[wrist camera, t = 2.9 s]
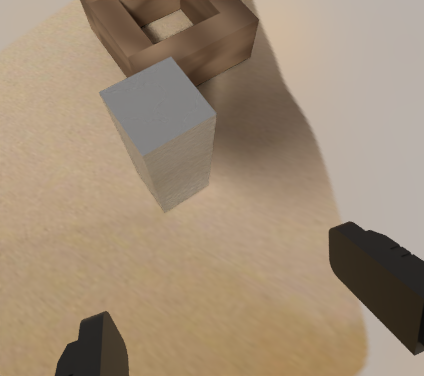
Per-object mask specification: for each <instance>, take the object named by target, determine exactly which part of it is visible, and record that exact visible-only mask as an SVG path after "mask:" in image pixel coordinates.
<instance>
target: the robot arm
mask: <svg viewBox="0 0 424 376" xmlns="http://www.w3.org/2000/svg"><path fill="white" fill-rule="evenodd" d="M329 260H330V265H331V268H332V270H333V272H334V273H335V275H336V276H337V277H338V278H339V279H340V280H341V281H342V282H343V283H344V284H345V285H346V286H347V288H348V289H349V290H350V291H351V292H352V293H353V294H354V295H355V296H356V297H357V298H358V299H359V300H360V301H361V302H362V303H363V304H364V305H365V306H366V307H367V308H368V309H369V310H370V311H371V312H372V313H373V314H374V315H375V316H376V317H377V318H378V319H379V320H380V321H381V322H382V323H383V324H384V325H385V326H386V327H387V328H388V329H389V330H390V331H391V332H392V333H393V334H394V335H395V336H396V337H397V338H398V339H399V340H400V341H401V343H403V344H404V345H405V346H406V348H407V349H408V350H409V351H410V352H411V353H412V354H413V355H417V354H419V353H421V352H423V351H424V261H423V260H421V259H420V258H418V257H417V256H415V255H414V254H413V255H412V254H411V252H409V251H408V250H406V249H405V248H403V247H400V245H399V244H398V243H396V242H394V241H393V240H392V239H390V238H389V237H387V236H385V235H383V234H380V233H377V232H374V231H372V230H368V231H365V230H363V229H362V228H361V227H359V226H358V225H356V224H355V223H353V222H347V223H344V224H341V225H338V226H336V227H333V228H331V229H330V230H329ZM55 376H129V367H128V354H127V349H126V346H125V343H124V340H123V338H122V337H121V335H120V333H119V331H118V329H117V327H116V325H115V324H114V322H113V320H112V318H111V316H110V314H109V313H108V312H107V311H105V312H102V313H99V314H97V315H94V316H91V317H89V318H86V319H83V320H82V321H81V323H80V329H79V336H78V340H77V341H74V342H72V343H69V344H67V346H66V348H65V350H64V352H63V354H62V355H61V357H60V359H59V361H58V363H57V368H56V373H55Z"/></svg>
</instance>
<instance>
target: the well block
mask: <svg viewBox="0 0 424 376" xmlns="http://www.w3.org/2000/svg"><path fill="white" fill-rule="evenodd" d="M80 1H81V3H82V6H83V8H84V11H85V14H86V16H87V19H88V21H89V24H90V26H91V29H92V30H93V31H94V33H95V34H96V36H97V37H98V38H99V40H100V41H101V42H102V44H103V45H104V47H105V48H106V49H107V51H108V52H109V53H110V55H111V56H112V58H113V59H114V60H115V62H116V63H117V64H118V66H119V67H120V69H121V70H122V71H123V73H124V74H125V75H126V77H127V78H129V77H131V76H133V75H135V74H137V73H139V72H141V71H143V70H145V69H147V68H149V67H151V66H153V65H155V64H157V63H159V62H161V61H163V60H165V59H167V58H169V57H172V58H173V60H174V61H175V62H176V63H177V65H178V66H179V67H180V68H181V70H182V71H183V72H184V73H185V75H186V76H187V77H188V78H189V80H190V81H191V82H192V83H193V85H194V86H195V87H196V86H197V85H199V84H201V83H203V82H205V81H207V80H209V79H210V78H212V77H214V76H216V75H218V74H220V73H222V72H223V71H225V70H227V69H229V68H231V67H233V66H235V65H236V64H238V63H240V62H242V61H244V60H246V59H248V58H249V57H250V56H251V52H252V47H253V43H254V39H255V35H256V30H257V26H258V22H259V19H258V18H257V17H256V16H255V15H254V14H253V13H252V12H251V11H250V10H249V9H248V8H247V7H246V6H245V5H244V3H243V2H242V1H241V0H80ZM179 9H181V10H182V11H183V12H184V13H185V15H186V16H187V17H188V18H189V19H190V20H191V22H192V23H193V24H194V26H192V27H190V28H188V29H186V30H184V31H182V32H179V33H177V34H175V35H173V36H171V37H169V38H167V39H165V40H163V41H161V42H159V43H157V44H154V45H153V44H152V42H151V41H150V40H149V38H148V37H147V36H146V35H145V33H144V32H143V31H142V30H141V28H140V27H142V26H144V25H146V24H148V23H151V22H153V21H155V20H157V19H159V18H161V17H164V16H166V15H168V14H170V13H172V12H175V11H177V10H179Z"/></svg>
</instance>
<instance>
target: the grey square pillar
mask: <svg viewBox="0 0 424 376" xmlns="http://www.w3.org/2000/svg"><path fill="white" fill-rule="evenodd" d="M99 94H100V96H101V98H102V100H103V102H104V104H105V106H106V108H107V110H108V112H109V114H110V116H111V118H112V121H113V123H114V125H115V127H116V129H117V131H118V133H119V135H120V137H121V139H122V141H123V143H124V145H125V147H126V149H127V151H128V153H129V155H130V158H131V160H132V162H133V164H134V166H135V168H136V170H137V172H138V173H139V175H140V176H141V178H142V179H143V181H144V182H145V184H146V185H147V187H148V188H149V190H150V191H151V193H152V194H153V196H154V198H155V199H156V201H157V202H158V204H159V205H160V207H161V208H162V210H163V211H164V213H165V212H167V211H168V210H170V209H172V208H173V207H175V206H176V205H178V204H179V203H181V202H183V201H184V200H186V199H187V198H189V197H190V196H192V195H193V194H195V193H197V192H198V191H200V190H201V189H203V188H204V187H206V186H208V185H209V176H210V168H211V159H212V150H213V142H214V133H215V125H216V116H217V113H216V112H215V111H214V110H213V108H212V107H211V106H210V105H209V103H208V102H207V101H206V100H205V98H204V97H203V96H202V95H201V93H200V92H199V91H198V90H197V88H196V87H195V86H194V85H193V83H192V82H191V81H190V80H189V78H188V77H187V76H186V75H185V73H184V72H183V71H182V70H181V68H180V67H179V66H178V65H177V63H176V62H175V61H174V60H173V58H172V57H169V58H167V59H165V60H163V61H161V62H159V63H157V64H155V65H153V66H151V67H149V68H147V69H145V70H143V71H141V72H139V73H137V74H135V75H133V76H131V77H129V78H127V79H125V80H123V81H121V82H119V83H117V84H115V85H113V86H110V87H108V88H106V89H104V90H102V91H100V92H99Z"/></svg>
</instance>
